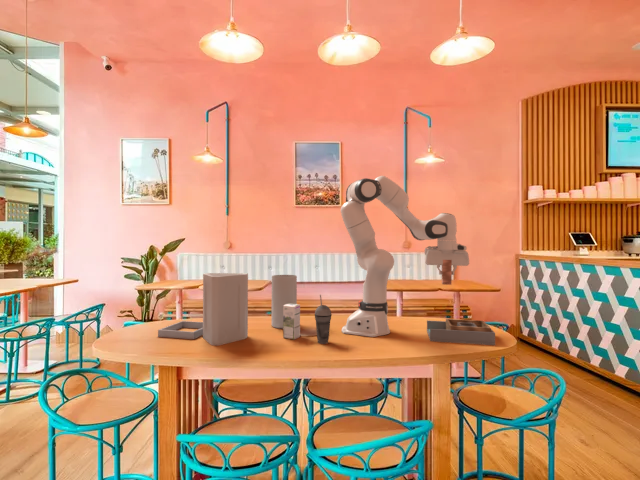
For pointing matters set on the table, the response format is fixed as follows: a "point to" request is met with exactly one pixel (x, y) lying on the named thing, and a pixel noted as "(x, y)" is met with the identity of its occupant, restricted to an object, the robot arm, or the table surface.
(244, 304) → the paper bag
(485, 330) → the crate
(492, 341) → the tray
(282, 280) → the cylinder vase
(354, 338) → the table surface
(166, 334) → the gray square frame
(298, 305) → the syrup box
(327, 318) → the beverage cup
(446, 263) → the reddish brown block
